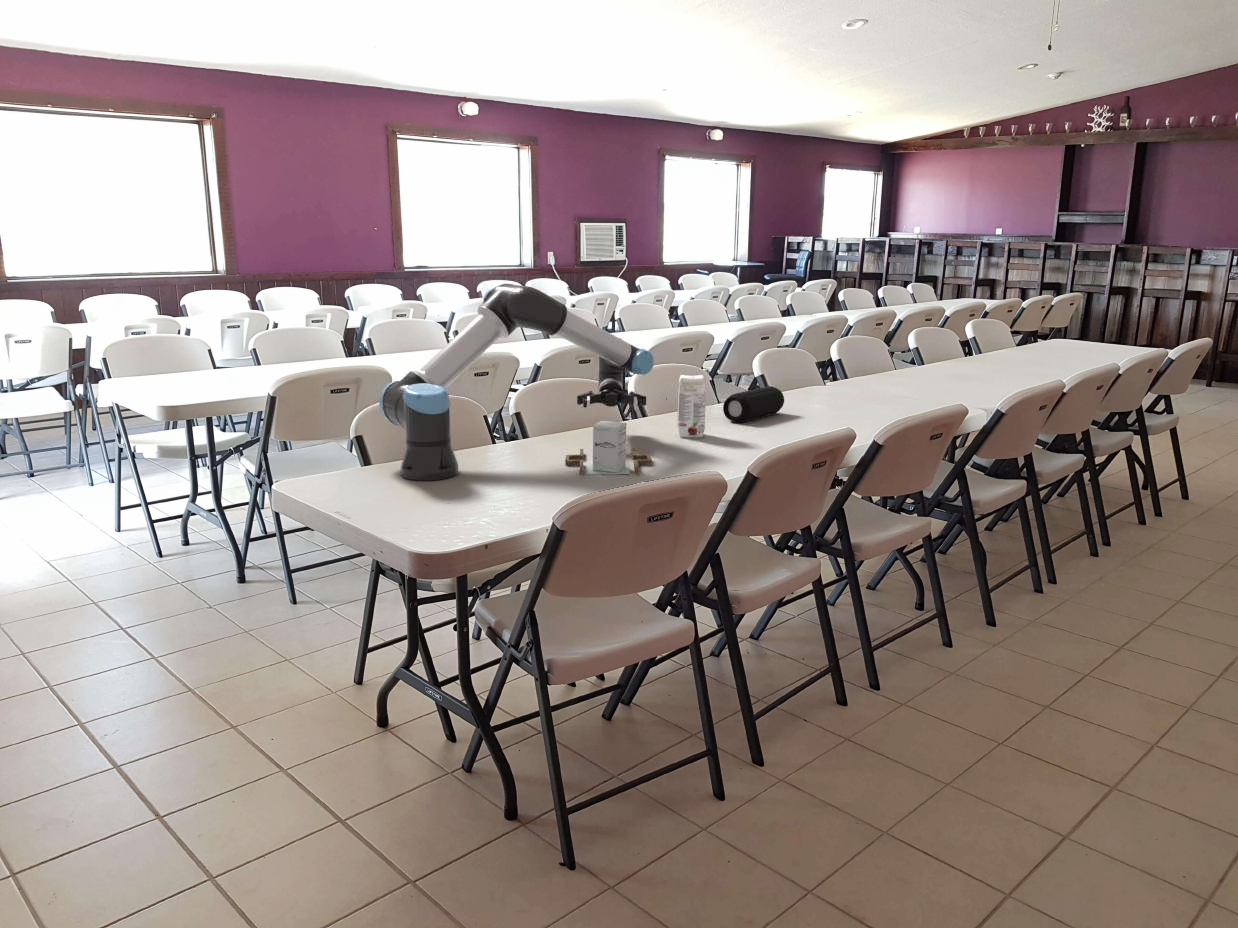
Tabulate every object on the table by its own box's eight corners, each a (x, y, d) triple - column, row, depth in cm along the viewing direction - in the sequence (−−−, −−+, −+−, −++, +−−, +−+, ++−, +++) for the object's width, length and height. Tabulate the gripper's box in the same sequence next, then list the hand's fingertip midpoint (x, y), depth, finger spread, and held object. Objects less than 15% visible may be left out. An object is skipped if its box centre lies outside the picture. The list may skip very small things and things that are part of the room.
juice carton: (705, 438, 297) (706, 378, 292) (677, 438, 297) (679, 378, 292) (703, 433, 304) (705, 374, 299) (676, 432, 304) (678, 374, 299)
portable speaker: (762, 411, 341) (763, 383, 338) (785, 415, 334) (787, 387, 332) (720, 421, 322) (721, 392, 320) (744, 426, 316) (745, 396, 313)
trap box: (564, 475, 252) (564, 469, 252) (566, 453, 276) (566, 448, 275) (654, 475, 253) (654, 469, 253) (648, 453, 277) (648, 448, 276)
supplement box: (591, 470, 256) (591, 425, 253) (601, 464, 263) (601, 419, 260) (617, 473, 254) (617, 427, 250) (626, 466, 260) (627, 421, 257)
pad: (588, 474, 253) (588, 473, 253) (588, 465, 263) (588, 464, 263) (630, 474, 254) (630, 473, 254) (628, 465, 263) (628, 464, 263)
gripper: (651, 405, 291) (655, 418, 271) (570, 404, 291) (568, 417, 270) (651, 381, 289) (656, 392, 269) (570, 380, 289) (568, 391, 268)
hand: (612, 405), depth 269 cm, fingers open, 13 cm apart
